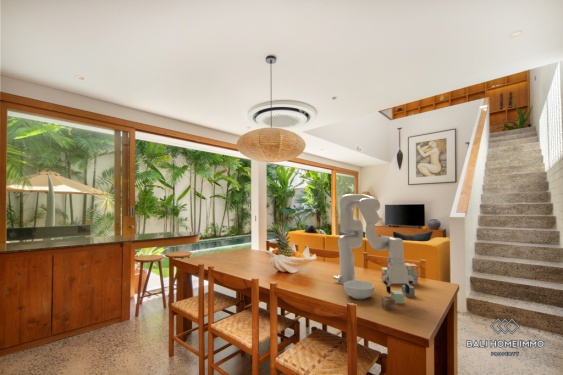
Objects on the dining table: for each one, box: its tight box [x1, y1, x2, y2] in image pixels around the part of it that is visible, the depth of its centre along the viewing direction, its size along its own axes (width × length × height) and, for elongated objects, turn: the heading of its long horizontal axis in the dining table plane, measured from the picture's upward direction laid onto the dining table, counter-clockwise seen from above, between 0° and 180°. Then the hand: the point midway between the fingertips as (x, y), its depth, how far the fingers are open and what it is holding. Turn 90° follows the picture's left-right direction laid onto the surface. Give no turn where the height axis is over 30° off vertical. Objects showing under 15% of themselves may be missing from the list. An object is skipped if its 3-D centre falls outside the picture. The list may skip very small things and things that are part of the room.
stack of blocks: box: [381, 262, 419, 285], centre depth 178 cm, size 21×6×12 cm, turn 84°
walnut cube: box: [381, 296, 396, 311], centre depth 136 cm, size 5×5×5 cm
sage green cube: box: [390, 290, 405, 304], centre depth 144 cm, size 5×5×5 cm
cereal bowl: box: [343, 279, 375, 300], centre depth 152 cm, size 17×17×7 cm
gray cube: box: [401, 284, 416, 298], centre depth 154 cm, size 5×5×5 cm
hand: (398, 293), depth 144 cm, fingers open, 9 cm apart
